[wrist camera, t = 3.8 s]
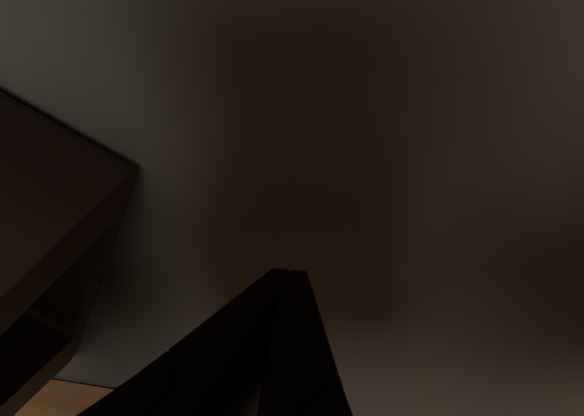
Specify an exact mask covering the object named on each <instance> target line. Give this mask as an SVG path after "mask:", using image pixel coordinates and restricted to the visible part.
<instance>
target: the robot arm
mask: <svg viewBox="0 0 584 416" xmlns="http://www.w3.org/2000/svg"><path fill="white" fill-rule="evenodd" d="M76 416H353V415H352V412H351V409H350V406H349V403H348V401H347V398H346V395H345V392H344V389H343V386H342V382H341V379H340V376H339V375H338V370H337V367H336V364H335V360H334V357H333V354H332V351H331V347H330V344H329V341H328V338H327V334H326V331H325V328H324V325H323V321H322V318H321V315H320V312H319V308H318V305H317V302H316V299H315V296H314V292H313V289H312V286H311V283H310V279H309V276H308V273H307V272H306V271H302V270H290V272H289V270H288V269H280V268H272V269H271V270H269V271H268V272H267V273H266V274H264V275H263V276H262V277H260V278H259V279H258V280H257V281H255V282H254V283H253V284H252V285H250V286H249V287H248V288H246V289H245V290H244V291H243V292H241V293H240V294H239V295H238V296H236V297H235V298H234V299H232V300H231V301H230V302H229V303H227V304H226V305H225V306H223V307H222V308H221V309H220V310H218V311H217V312H216V313H215V314H213V315H212V316H211V317H209V318H208V319H207V320H206V321H204V322H203V323H202V324H201V325H199V326H198V327H197V328H195V329H194V330H193V331H192V332H190V333H189V334H188V335H187V336H185V337H184V338H183V339H181V340H180V341H179V342H178V343H176V344H175V345H174V346H173V347H171V348H170V349H169V352H165V353H163V354H162V355H161V356H160V357H158V358H157V359H156V360H154V361H153V362H152V363H151V364H149V365H148V366H147V367H145V368H144V369H143V370H141V371H140V372H139V373H137V374H136V375H135V376H133V377H132V378H131V379H129V380H128V381H126V382H125V383H123V384H122V385H120V386H119V387H118V388H116V389H115V390H113V391H112V392H110V393H109V394H107V395H106V396H104V397H103V398H102V399H100V400H98V401H97V402H95V403H94V404H92V405H91V406H89V407H88V408H86V409H85V410H83V411H82V412H80V413H79V414H77V415H76Z"/></svg>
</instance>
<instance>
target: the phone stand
mask: <svg viewBox="0 0 584 416" xmlns="http://www.w3.org/2000/svg"><path fill="white" fill-rule="evenodd" d="M137 172H138V171H137V169H136V168H134V167H133V166H131V165H129V164H127V163H125V162H124V161H122V160H120V159H118V158H117V157H115V156H113V155H111V154H110V153H108V152H106V151H104V150H103V149H101V148H99V147H97V146H95V145H94V144H92V143H90V142H88V141H87V140H85V139H83V138H81V137H80V136H78V135H76V134H74V133H72V132H71V131H69V130H67V129H65V128H64V127H62V126H60V125H58V124H57V123H55V122H53V121H51V120H50V119H48V118H46V117H44V116H42V115H41V114H39V113H37V112H35V111H34V110H32V109H30V108H28V107H27V106H25V105H23V104H21V103H19V102H18V101H16V100H14V99H12V98H11V97H9V96H7V95H5V94H4V93H2V92H0V416H14V415H15V414H16V413H17V412H18V411H19V410H20V409H21V408H22V407H23V406H24V405H25V404H26V403H27V402H28V401H29V400H30V399H31V398H32V397H33V396H34V395H35V394H37V393H38V392H39V391H40V390H41V389H42V388H43V387H44V386H45V385H46V384H47V383H48V382H49V381H50V380H51V379H52V378H53V377H54V376H55V375H56V374H57V373H58V372H59V371H61V370H62V369H63V368H64V367H65V366H66V365H67V364H68V363H69V361H70V360H71V359H72V357H73V356H74V355H75V353H76V351H77V349H78V346H79V343H80V340H81V337H82V334H83V331H84V328H85V325H86V322H87V319H88V317H89V314H90V311H91V308H92V305H93V302H94V299H95V296H96V293H97V290H98V287H99V284H100V280H99V278H100V276H101V275H102V274H103V273H104V270H105V267H106V264H107V261H108V258H109V255H110V252H111V249H112V246H113V243H114V240H115V237H116V235H117V232H118V229H119V226H120V223H121V220H122V217H123V214H124V211H125V208H126V205H127V202H128V199H129V196H130V194H131V191H132V188H133V185H134V182H135V179H136V176H137Z"/></svg>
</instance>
